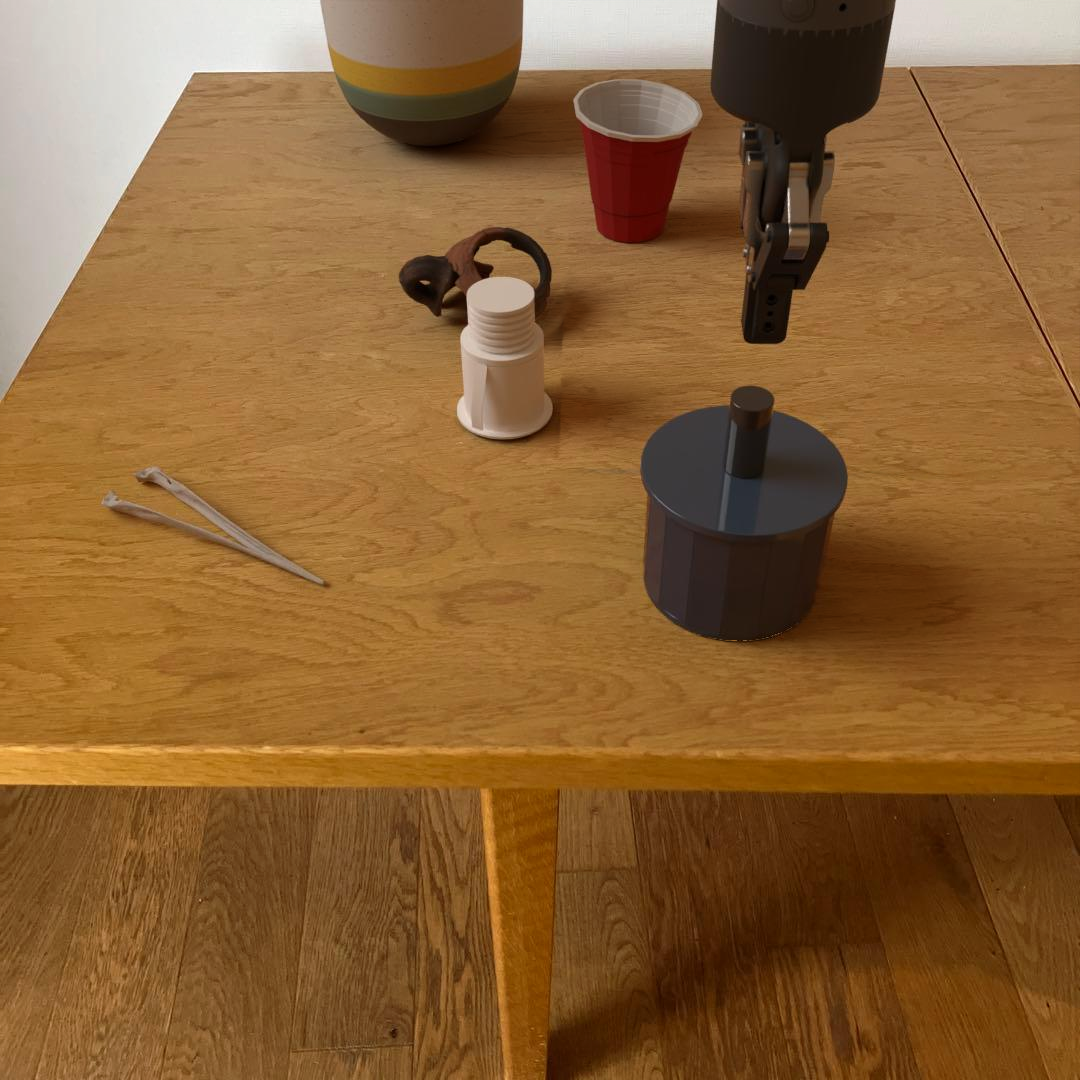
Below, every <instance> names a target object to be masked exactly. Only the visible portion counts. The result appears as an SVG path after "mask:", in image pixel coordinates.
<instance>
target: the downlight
mask: <svg viewBox="0 0 1080 1080" xmlns="http://www.w3.org/2000/svg"><path fill="white" fill-rule="evenodd" d="M534 290H535V289H534V288H533V286H532V285H531V284H530V283H528V282H527V281H524V280H523V279H520V278H518V277H517V278H516V277H512V276H493V277H489V278H487V279H483V280H481V281H478V282H476V283H475V284H473V285H472V286H471V287H470V288H469V289H468V291H467V296H466V307H467V309H466V310H467V323H468V324H467V325H466V326H465V327H464V328H463V330H462V331H461V333H460V336H459V341H460V355H461V368H462V383H463V384H462V385H463V395H462V396H461V397H460V399H458V400H459V401H458V402H457V406H456V415H457V416H456V417H457V419H458V422H459V423H460V424H461V425H462V426H463V427H464V429H466V430H468V431H469V432H470V433H473V434H474V435H477V436H479V437H483V438H487V439H493V440H514V439H518V438H523V437H526V436H527V437H528V436H530V435H532V434H535V433H536V432H538V431H540V430H541V429H542V428H544V427H545V426H546V425H548V423H549V421H550V420H551V418H552V416H553V413H554V412H553V409H554V407H553V401H552V399H551V397H550V396H549V395H548V394H547V393H546V391H545V335H544V331H543V329H542V328H541V327H540V325H539V324H538V323H536V320H535V308H534V305H535V304H534Z"/></svg>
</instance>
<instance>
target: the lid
mask: <svg viewBox="0 0 1080 1080" xmlns="http://www.w3.org/2000/svg"><path fill="white" fill-rule="evenodd" d="M775 400H776V399H775V396H774V394H773V393H772V392H771V391H770V390H768V389H766V388H765V387H762V386H758V385H742V386H740V387H737V388H735V389H734V390H733V391H732V392H731V394H730V398H729V405H727V404H726V405H715V406H707V407H702V408H697V409H694V410H691V411H687V412H685V413H682V414H680V415H677V416H675V417H674V418H671V419H670V420H668V421H666V422H665V423H664V424H662V425H661V426H659V427H658V428H657V429H656V430H655V431H654V432H653V433H652V434H651V436H649V438H648V440H647V441H646V443H645V445H644V446H643V449H642V452H641V456H640V471H639V472H640V473H639V474H640V479H641V483H642V486H643V489H644V491H645V492H646V494H648V496H649V497H650V499H651V500H652V501H653V502H654V504H655V505H656V506H657V507H658V508H659V509H660V510H661V511H662V512H663V513H664V514H666V515H667V516H669V517H670V518H671V519H673V520H674V521H676V522H677V523H679V524H681V525H683V526H685V527H687V528H689V529H691V530H693V531H696V532H698V533H701V534H704V535H707V536H710V537H714V538H719V539H723V540H729V541H736V542H750V543H758V542H772V541H780V540H785V539H789V538H794V537H797V536H799V535H802V534H805V533H807V532H809V531H812V530H814V529H816V528H817V527H819V526H820V525H822V524H823V523H825V522H826V521H827V520H828V519H830V518H831V517H832V516H833V515H834V514H836V513H837V511H838V510H839V509H840V508H841V506H842V504H843V501H844V500H845V497H846V493H847V489H848V480H849V475H848V467H847V465H846V462H845V459H844V457H843V455H842V454H841V452H840V450H839V449H838V447H837V446H836V445H835V444H834V443H833V441H832V440H831V439H830V438H828V437H827V436H826V435H825V434H824V433H823V432H821V431H820V430H819V429H817V428H816V427H814V426H813V425H811V424H810V423H808V422H806V421H804V420H802V419H799V418H798V417H795V416H793V415H789V414H787V413H785V412H781V411H778V410H774V409H775V402H776V401H775ZM834 516H835V515H834Z"/></svg>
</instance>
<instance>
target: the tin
mask: <svg viewBox="0 0 1080 1080" xmlns="http://www.w3.org/2000/svg"><path fill="white" fill-rule="evenodd" d="M646 494H647V493H646ZM645 513H646V514H645V526H644V530H645V531H644V541H643V542H644V543H643V555H642V556H643V557H642V560H643V561H642V565H643V575H642V577H643V583H644V587H645V591H646V593H647V595H648V597H649V599H650V601H651V602H652V603H653V605H654V607H656V609H657V610H658V611H659V612H660V613H661V614H662V615H663V616H664V617H665V618H666V619H668V620H669V621H671V622H672V623H673V622H674V624H675V625H676V626H678V625H679V626H678V627H680V628H682V627H683V628H682V629H684V628H685V629H684V630H685V631H688V630H689V631H688V632H690V633H692V632H694V633H693V634H695V633H696V634H695V635H698V634H700V635H702V636H701V637H704V636H705V637H704V638H707V637H711V638H716V639H722V640H737V641H743V640H747V641H746V642H750V641H749V640H756V639H762V638H766V637H770V638H772V637H771V636H772V635H773V637H775V636H774V635H775V634H778V633H781V632H784V631H785V632H787V631H788V630H787V629H789V628H791V627H793V626H794V627H796V625H795V624H797V623H798V624H800V622H802V621H803V620H804V619H805V618H806V617H807V615H809V613H810V612H811V610H812V608H813V606H814V605H815V602H816V599H817V595H818V592H819V590H820V589H819V588H820V586H821V582H822V577H823V573H824V567H825V562H826V559H827V553H828V549H829V544H830V539H831V534H832V529H833V524H834V521H835V520H834V519H835V514H836V513H835V514H834V515H833V516H832V517H831V518H830V519H828V520H827V521H826V522H825V523H823V524H822V525H820V526H819V527H817V528H816V529H814V530H812V531H809V532H807V533H805V534H802V535H799V536H797V537H794V538H789V539H785V540H780V541H772V542H758V543H750V542H736V541H729V540H723V539H719V538H714V537H710V536H707V535H704V534H701V533H698V532H696V531H693V530H691V529H689V528H687V527H685V526H683V525H681V524H679V523H677V522H676V521H674V520H673V519H671V518H670V517H669V516H667V515H666V514H664V513H663V512H662V511H661V510H660V509H659V508H658V507H657V506H656V505H655V504H654V502H653V501H652V500H651V499H650V497H649V496H648V494H647V497H646V512H645ZM804 617H805V618H804ZM803 618H804V619H803ZM802 619H803V620H802ZM798 624H797V625H798ZM794 627H793V628H794ZM791 629H792V628H791ZM786 630H787V631H786ZM789 630H790V629H789ZM785 632H784V633H785ZM700 635H699V636H700ZM711 638H710V639H711ZM716 639H715V640H716ZM766 639H767V638H766ZM722 640H721V641H722ZM762 640H763V639H762ZM756 641H757V640H756Z"/></svg>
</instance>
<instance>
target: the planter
mask: <svg viewBox="0 0 1080 1080" xmlns="http://www.w3.org/2000/svg"><path fill="white" fill-rule="evenodd" d="M319 3H320V9H321V15H322V20H323V26H324V32H325V37H326V43H327V49H328V52H329V57H330V62H331V66H332V69H333V72H334V75H335V78H336V81H337V84H338V86H339V88H340V90H341V93H342V94H343V97H344V98H345V100H346V102H347V103H348V104H349V106H350V107H351V109H352V110H353V112H354V113H355V114H356V115H357V116H358V117H359V118H361V120H363V122H365V123H366V124H367V125H368V126H370V127H371V128H372V129H374V130H376V131H377V132H378V133H380V134H382V135H384V136H385V137H387V138H389V139H392V140H394V141H397V142H400V143H402V144H403V143H404V144H408V145H413V146H425V147H432V146H444V145H449V144H454V143H457V142H460V141H462V140H465V139H468V138H469V137H472V136H474V135H476V134H477V133H478V132H480V131H481V130H482V129H484V128H485V127H486V126H488V125H489V124H490V123H491V122H492V121H493V120H494V119H495V118H496V117H497V116H498V115H499V114H500V113H501V112H502V111H503V109H504V108H505V106H506V105H507V104H508V102H509V100H510V98H511V96H512V94H513V91H514V89H515V86H516V83H517V79H518V75H519V71H520V66H521V60H522V52H523V41H524V39H523V38H524V37H523V35H524V0H319Z"/></svg>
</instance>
